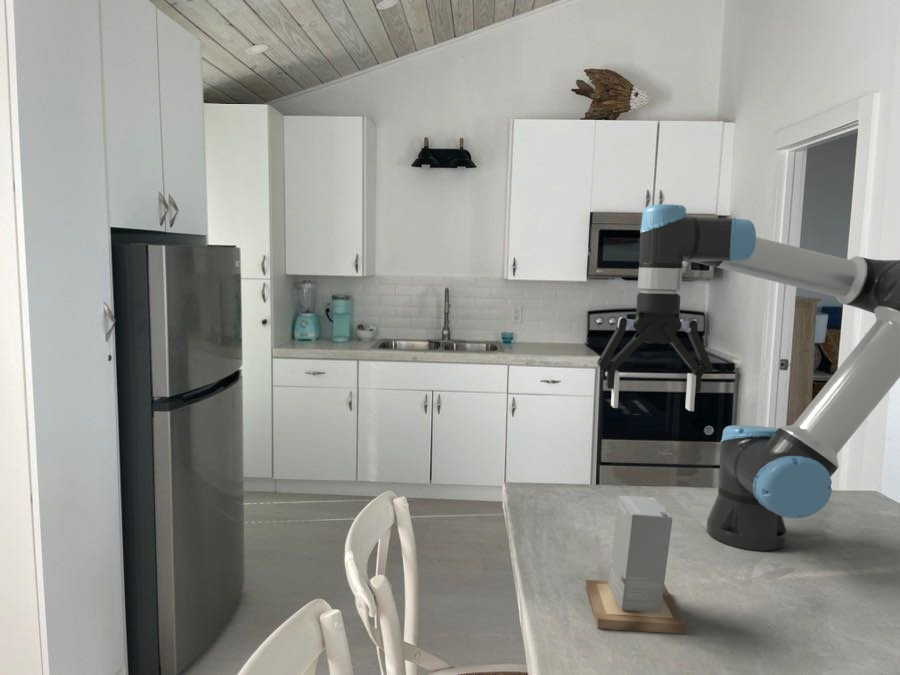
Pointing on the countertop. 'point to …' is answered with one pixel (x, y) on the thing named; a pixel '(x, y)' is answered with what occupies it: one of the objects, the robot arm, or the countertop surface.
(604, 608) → the tan flat square board
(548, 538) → the countertop surface
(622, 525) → the skincare box
